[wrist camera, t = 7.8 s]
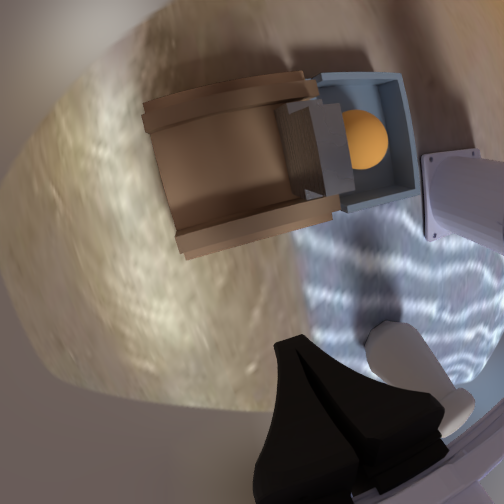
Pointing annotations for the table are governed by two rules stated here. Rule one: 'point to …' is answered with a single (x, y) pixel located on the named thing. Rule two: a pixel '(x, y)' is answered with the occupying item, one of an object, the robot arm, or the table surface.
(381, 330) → the salt shaker
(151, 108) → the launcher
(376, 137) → the ball
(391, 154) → the blue-grey open tray
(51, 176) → the table surface
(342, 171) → the grey stepped block
